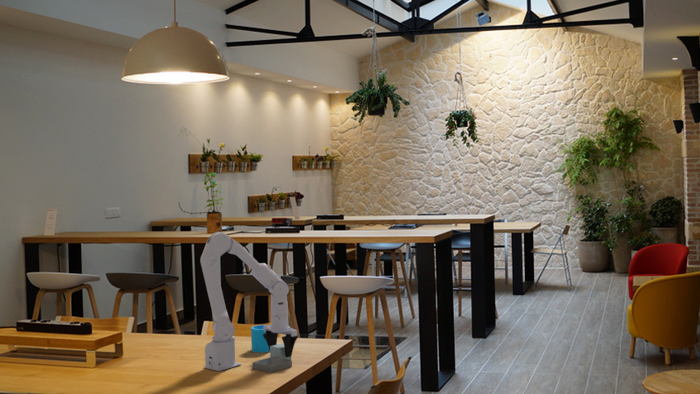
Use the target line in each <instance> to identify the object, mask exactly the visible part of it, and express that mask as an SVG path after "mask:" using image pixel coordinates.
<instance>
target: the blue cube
mask: <svg viewBox="0 0 700 394" xmlns="http://www.w3.org/2000/svg"><path fill="white" fill-rule="evenodd" d="M269 354H270V355H269V357H278V358H283V359H287V360H292V356H290V357H286V356H285V347H284V343H278V344H277V345H273V346H270V351H269Z"/></svg>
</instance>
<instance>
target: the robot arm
mask: <svg viewBox="0 0 700 394" xmlns="http://www.w3.org/2000/svg"><path fill="white" fill-rule="evenodd" d="M226 252H227V253H228V254H231V255H235V256H237V257H238V258H239V259H240V260H241V261H242V262H243V263H244V264H245V265H247V266H248V267H249V268H250V269H251V270H252V276H253V277H254V278H255V279H256V280H257V282H259V283H260V284H261V285H262V286H263V287H264V288H265V289H268V292H269V293H270V323H271V324H265V325H266V326H264V332H266V333H265V334H263V337H264V338H265V340H266V342H267V344H268V347H269V352H270V346H273V345H277V341H278V337H279V334H280V335H284V336H281V340H282V342H283V343H282V344H284V347H285V356H286V357H290V356H291V357H292V355H293V351H294V346H295V344H296V342H297V340H298V338H299V337H298V330H297V329H294V328H292V327H291V326H290V325H289V307H288V305H289V303H288V294H289V292H290V288H289V286H288V283H286V282H285V281H284V280H283V279H282V278H281V277H282V276H281V275H280V274H277V273H276V272H275V271H274V270H273V269H272V266H271V265H270V264H266V263H265V262H262V263H261V262H260V263H259V262H258V260H257V259H255V257H254V256H253V255H252V254H251V253H250V252H249V251H248V250H247V249H245V247H244V246H242V244H241V243H239V242H238V241H236V240H234V238H232V237H230V235H228V234H227V233H225V232H222V231H215V232H213V233H212V234H211V235H210V236H209V238H208V239H207V240H206V242H205V246H204V249H203V251H202V254H201V256H200V266H201V269H202V274H203V278H204V282H205V287H206V292H207V296H208V300H209V303H210V308H211V312H212V318H213V319H212V320H213V322H212V326H211V328H212V331H213V332H214V335H213V336H212V338H211V339H212V340H211V341H210V342H207V344H206V345H205V346H204V364H205V365H204V366H203V368H205V369H209V370H213V371H216V372H221V371H224V370H228V369H231V368H235V367H238V366H241V365H242V363H241V362H237V361H236V338H235V336H234V335H235V326H234V324H233V323H232V322H231V319H230V317H229V314H228V310H227V308H226V307H227V306H226V303H225V299H224V294H223V293H224V292H223V290H222V286H221V282H220V278H219V273H218V268H217V262H218V261H219V260H220V258H221V256H223V255H224V254H226Z"/></svg>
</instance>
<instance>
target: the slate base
mask: <svg viewBox="0 0 700 394" xmlns="http://www.w3.org/2000/svg"><path fill="white" fill-rule="evenodd" d="M251 363H252V364H251V365H252V369H254V370H258V371H261V372H266V373H270V374H273V373H276V372H278V371H283V370H285V369H289V368H292V367H293V361H292V359H291V360H287V359H283V358H278V357H270V356H269V357H266V358H263V359H260V360H259V359H258V360H256V361H253V362H251Z"/></svg>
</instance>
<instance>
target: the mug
mask: <svg viewBox="0 0 700 394" xmlns="http://www.w3.org/2000/svg"><path fill="white" fill-rule="evenodd" d="M266 325H267V324H259V325H253V326H251V327H250V337H251V339H250V340H251V351H252V352H253V353H267V352H269V353H270V351H269V347H268V344H267V342H266V340H265V338H264V337H263V334H265V333H266V332H264V326H266Z"/></svg>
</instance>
